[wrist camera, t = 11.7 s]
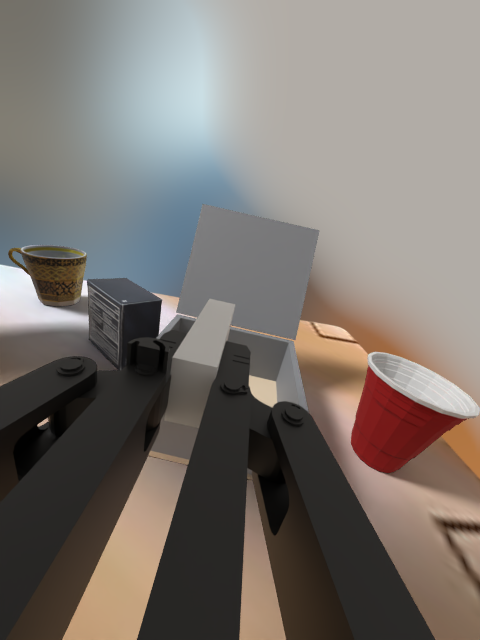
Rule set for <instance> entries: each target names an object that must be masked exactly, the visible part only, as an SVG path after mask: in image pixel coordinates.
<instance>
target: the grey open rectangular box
mask: <svg viewBox="0 0 480 640" xmlns="http://www.w3.org/2000/svg"><path fill="white" fill-rule="evenodd" d="M195 321H196V319H195V318H190V317H186V316H182V315H176V317H175V318H174V319H173V320H172V321H171V322H170V323H169V324H168V325H167V327H166V328H165V329H164V330H163V331H162V332H161V333H160V334H159V335H158V337H157V339H160V338H161V336H162V335H163V334H164V333H166V332H168V331H171V330H176V331H181V332H185V333H188V332H189V330H190V329H191V327H192V326H193V324H194V322H195ZM227 341H228V342H233V343H237V344H242V345H246V346H247V347H248V349H249V350H250V352H251V355H250V372H249V387H250V390H251V393H252V395H253V396H254V397H255V398H256V399H258V400H259V401H261V402H262V403H264V404H266V405H268V406H270V407H272V408H273V406H274V404H276V403H278V402H282V401H288V402H293V403H295V404H297V405H300V406H301V407H303V408H304V409H305V410H307V411H308V406H307V402H306V397H305V393H304V388H303V383H302V379H301V374H300V369H299V365H298V360H297V355H296V351H295V346H294V341H290V340H285V339H281V338H277V337H272V336H268V335H264V334H259V333H255V332H251V331H246V330H242V329H238V328H233V327H230V331H229V335H228V340H227ZM308 413H309V411H308ZM164 419H165V413H164V415H163V417H162V419H161V423H160V430H159V433H158V436H157V438H156V440H155V442H154V444H153V446H152V448H151V450H150V453H149V455H148V456H152V457H156V458H160V459H164V460H169V461H173V462H177V463H181V464H186V465H188V464H189V460H190V457H191V453H192V450H193V447H194V443H195V440H196V436H197V433H198V429H199V428H196V427H191V426H187V425H182V424H178V423H173V422H169V421H164ZM247 479H249V480H253V478H252V470H250V469H248V468H247Z"/></svg>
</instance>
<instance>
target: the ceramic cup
mask: <svg viewBox="0 0 480 640" xmlns="http://www.w3.org/2000/svg"><path fill="white" fill-rule="evenodd" d="M13 251H16V252H19V253H20V254H22V257H23V260H24V262H25V265H26V267H27V269H26V268H25V267H24V266H23V265H21V264H20V263H19V262H17V261H16V260H15V259H14V258H13V256H12V252H13ZM8 255H9V258H10V259H11V260H12V261H13V262H14V263H15V264H17V265H18V266H19V267H21V268H22V269H23V270H24V271H25V272H26V273H27V274H29V275H30V276H31V279H32V281H33V284H34V287H35V289H36V293H37V295H38V299H39V300H40V301H41V302H42V303H43V304H44V305H49V306H57V307H61V306H68V305H74V304H76V303H77V302H78V301H80V297H81V290H82V283H83V276H84V271H85V266H86V256H87V255H86V253H85V252H84V251H81V250H78V249H75V248H70V247H64V246H53V245H33V246H26V247H23V248H21V249H20V248H12V249H10V250H9V253H8Z"/></svg>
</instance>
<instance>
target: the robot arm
mask: <svg viewBox="0 0 480 640" xmlns="http://www.w3.org/2000/svg"><path fill="white" fill-rule="evenodd" d="M234 308H235V304H231V303H227V302H223V301H218V300H214V299H209V300H208V302H207V304H206V305H205V307H204V308H203V310H202V311H201V313H200V315H199V316H198V318H197V319H196V321H195V322H194V324H193V326H192V327H191V329H190V330H189V332H188V333H185V332H181V331H176V330H171V331H168V332H166V333H164V334H163V335H162V336H161V338H160V339H157V338H150V337H144V338H137V339H133V340H131V341H130V342H128V343H127V362H126V366H125V367H124V368H123V369H122V370H120V371H97V365H96V363H95V361H93V360H92V359H90V358H86V357H79V356H78V357H77V356H72V357H66V358H62V359H59V360H56V361H53V362H51V363H49V364H47V365H45V366H43V367H41V368H38V369H36V370H34V371H32V372H30V373H28V374H26V375H24V376H21V377H19V378H17V379H15V380H13V381H11V382H9V383H6V384H4V385H2V386H0V640H62V639H63V636H64V634H65V632H66V630H67V628H68V626H69V624H70V621H71V619H72V617H73V615H74V613H75V611H76V609H77V606H78V604H79V602H80V600H81V598H82V596H83V594H84V592H85V589H86V587H87V585H88V583H89V581H90V579H91V577H92V574H93V572H94V570H95V568H96V566H97V564H98V562H99V559H100V557H101V555H102V553H103V551H104V549H105V547H106V545H107V542H108V540H109V538H110V536H111V534H112V532H113V530H114V527H115V525H116V523H117V521H118V519H119V517H120V515H121V512H122V510H123V508H124V506H125V504H126V502H127V500H128V498H129V495H130V493H131V491H132V489H133V487H134V485H135V483H136V480H137V478H138V476H139V474H140V472H141V470H142V468H143V465H144V463H145V461H146V459H147V457H148V455H149V453H150V450H151V448H152V446H153V444H154V442H155V440H156V438H157V436H158V433H159V430H160V423H161V419H162V417H163V415H164V413H165V419H164V421H169V422H173V423H178V424H182V425H187V426H191V427H196V428H199V429H198V433H197V436H196V440H195V443H194V447H193V450H192V453H191V457H190V460H189V464H188V467H187V470H186V474H185V477H184V481H183V484H182V488H181V491H180V494H179V498H178V501H177V505H176V508H175V511H174V515H173V518H172V522H171V525H170V529H169V532H168V535H167V539H166V542H165V546H164V549H163V553H162V556H161V559H160V563H159V566H158V570H157V573H156V576H155V580H154V583H153V587H152V590H151V594H150V597H149V600H148V604H147V607H146V611H145V614H144V617H143V621H142V624H141V628H140V631H139V635H138V638H137V640H239V633H240V612H241V591H242V571H243V550H244V529H245V508H246V488H247V468H248V469H250V470H252V478H253V483H254V487H255V492H256V497H257V502H258V506H259V511H260V516H261V521H262V526H263V530H264V535H265V540H266V545H267V549H268V554H269V559H270V564H271V568H272V573H273V578H274V583H275V587H276V592H277V597H278V602H279V607H280V611H281V616H282V621H283V626H284V630H285V635H286V640H435V638H434V636H433V635H432V633H431V631H430V629H429V627H428V626H427V624H426V622H425V620H424V618H423V617H422V615H421V613H420V611H419V609H418V607H417V606H416V604H415V602H414V600H413V598H412V597H411V595H410V593H409V591H408V589H407V588H406V586H405V584H404V582H403V580H402V579H401V577H400V575H399V573H398V571H397V570H396V568H395V566H394V564H393V562H392V561H391V559H390V557H389V555H388V553H387V551H386V550H385V548H384V546H383V544H382V542H381V541H380V539H379V537H378V535H377V533H376V532H375V530H374V528H373V526H372V524H371V523H370V521H369V519H368V517H367V515H366V514H365V512H364V510H363V508H362V506H361V504H360V503H359V501H358V499H357V497H356V495H355V494H354V492H353V490H352V488H351V486H350V485H349V483H348V481H347V479H346V477H345V476H344V474H343V472H342V470H341V468H340V467H339V465H338V463H337V461H336V459H335V458H334V456H333V454H332V452H331V450H330V448H329V447H328V445H327V443H326V441H325V439H324V438H323V436H322V434H321V432H320V430H319V429H318V427H317V425H316V423H315V421H314V420H313V418H312V416H311V415H310V414H309V413H308V411H307V410H305V409H304V408H303V407H301V406H300V405H297V404H295V403H293V402H288V401H282V402H278V403H276V404H274V406H273V408H272V407H270V406H268V405H266V404H264V403H262V402H261V401H259V400H258V399H256V398H255V397H254V396H253V395H252V393H251V390H250V387H249V372H250V355H251V352H250V350H249V349H248V347H247V346H246V345H242V344H237V343H233V342H228V341H227V340H228V335H229V331H230V326H231V322H232V317H233V313H234ZM46 418H48V421H49V422H47V423H46V424H44V425H42V426H40V427H38V426H37V424H39V423H40V422H42V421H43V420H45V419H46Z"/></svg>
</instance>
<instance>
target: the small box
mask: <svg viewBox="0 0 480 640" xmlns="http://www.w3.org/2000/svg"><path fill="white" fill-rule="evenodd" d="M87 286H88V299H89V340H90V341H91V343H92V344H93V345H94V346H95V347H96V348H97V349H98V350H99V351H100V352H101V353H102V354H103V355H104V356H105V357H106V358H107V359H108V360H109V361H110V362H111V363H112V364H113V365H114V366H115V367H116V368H117V369H118V370H119V371H120V370H122V369H123V368H124V367H125V366H126V362H127V343H128V342H130V341H131V340H133V339H137V338H144V337H150V338H157V337H158V335H159V324H160V314H161V303H162V299H160V298H159V297H157V296H155V295H154V294H152V293H150V292H149V291H147V290H145V289H144V288H142V287H140V286H138V285H137V284H135V283H133V282H132V281H130V280H128V279H127V278H115V279H88V280H87Z"/></svg>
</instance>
